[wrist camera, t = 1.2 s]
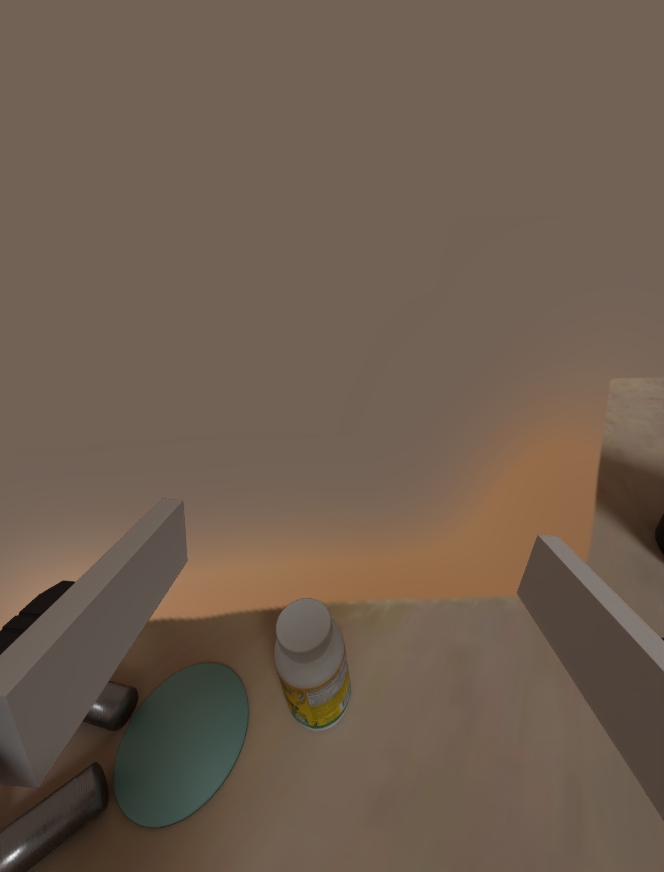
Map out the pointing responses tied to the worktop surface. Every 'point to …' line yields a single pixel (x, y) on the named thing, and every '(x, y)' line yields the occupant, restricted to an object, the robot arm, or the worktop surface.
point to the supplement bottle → (312, 664)
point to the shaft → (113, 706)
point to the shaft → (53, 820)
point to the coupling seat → (181, 745)
